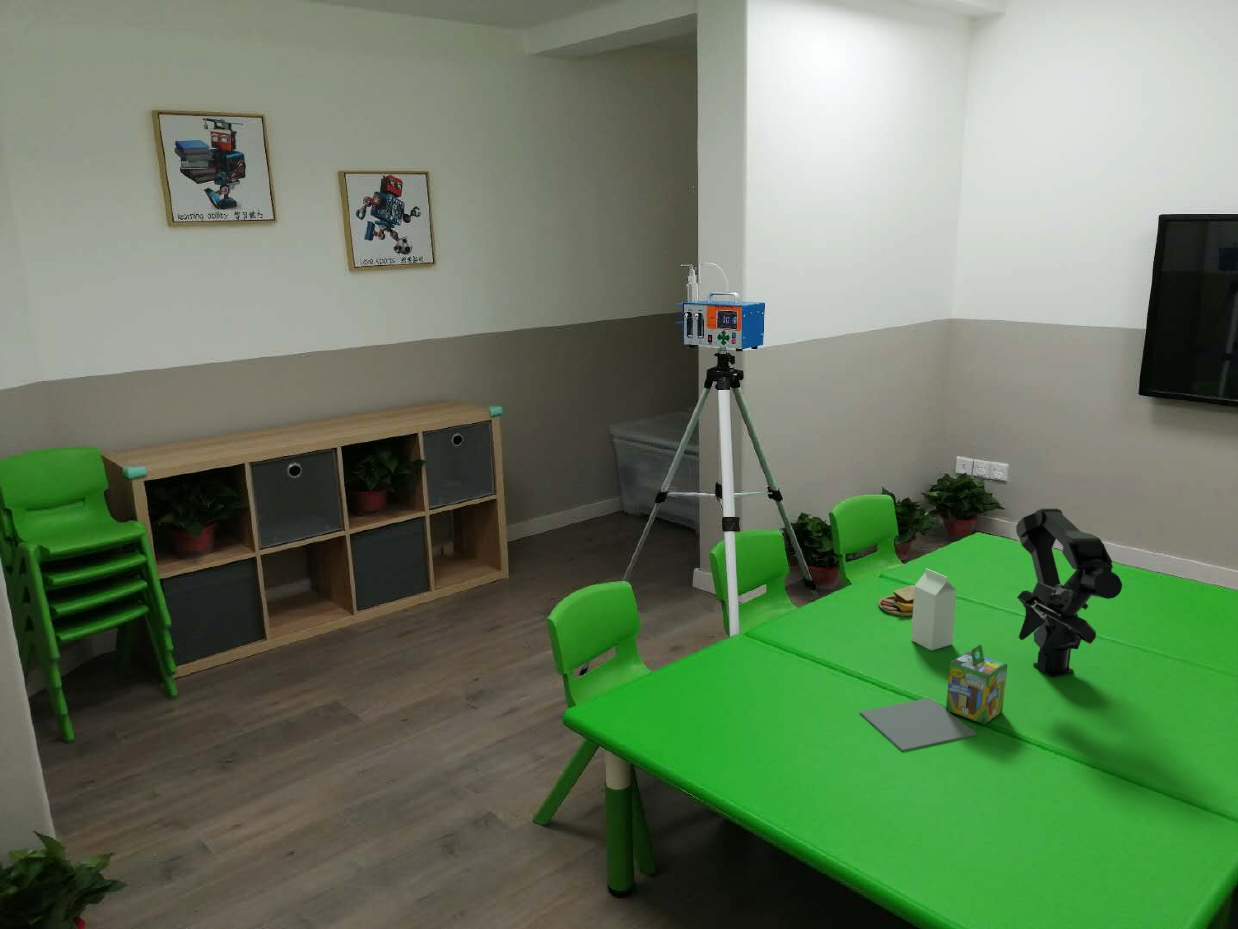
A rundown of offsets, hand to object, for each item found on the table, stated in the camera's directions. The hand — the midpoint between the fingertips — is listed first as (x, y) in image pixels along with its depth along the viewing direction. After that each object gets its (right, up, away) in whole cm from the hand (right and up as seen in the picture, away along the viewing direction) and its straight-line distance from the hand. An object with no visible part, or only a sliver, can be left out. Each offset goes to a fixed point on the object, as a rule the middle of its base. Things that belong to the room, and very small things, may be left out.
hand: (1030, 645), depth 205 cm
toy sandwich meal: (-12, 0, +55) cm, 56 cm away
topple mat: (-26, -16, -5) cm, 31 cm away
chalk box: (-13, -14, 0) cm, 19 cm away
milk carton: (-11, -6, +33) cm, 35 cm away
